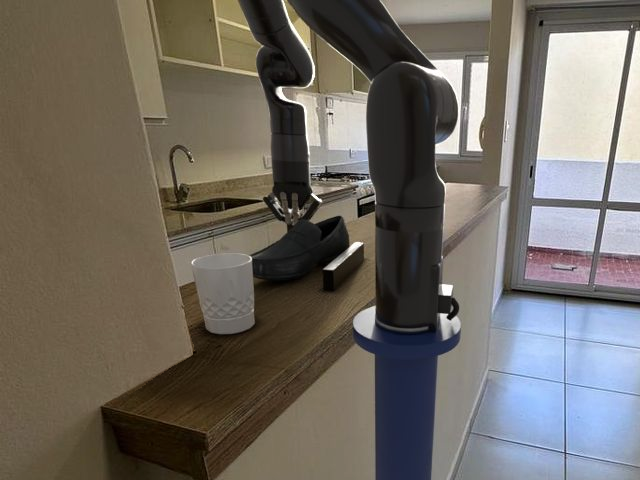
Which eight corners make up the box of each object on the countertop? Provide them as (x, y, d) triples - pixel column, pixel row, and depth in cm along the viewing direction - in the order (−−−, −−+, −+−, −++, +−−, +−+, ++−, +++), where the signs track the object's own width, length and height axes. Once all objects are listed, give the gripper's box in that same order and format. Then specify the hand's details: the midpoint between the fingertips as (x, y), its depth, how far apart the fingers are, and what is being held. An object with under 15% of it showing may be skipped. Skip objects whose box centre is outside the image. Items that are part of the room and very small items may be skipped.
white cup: (263, 314, 70) (256, 252, 67) (253, 335, 63) (245, 267, 59) (210, 315, 69) (200, 252, 65) (194, 337, 62) (182, 268, 58)
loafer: (231, 284, 82) (226, 229, 78) (316, 249, 107) (316, 206, 103) (279, 295, 79) (276, 238, 75) (355, 256, 104) (356, 212, 100)
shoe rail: (364, 259, 102) (363, 242, 100) (334, 291, 82) (333, 270, 80) (355, 259, 102) (355, 242, 100) (323, 290, 82) (322, 269, 80)
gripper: (251, 157, 89) (258, 242, 95) (315, 161, 87) (318, 247, 94) (267, 155, 96) (274, 235, 102) (327, 159, 94) (329, 239, 101)
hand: (295, 241), depth 98 cm, fingers closed
